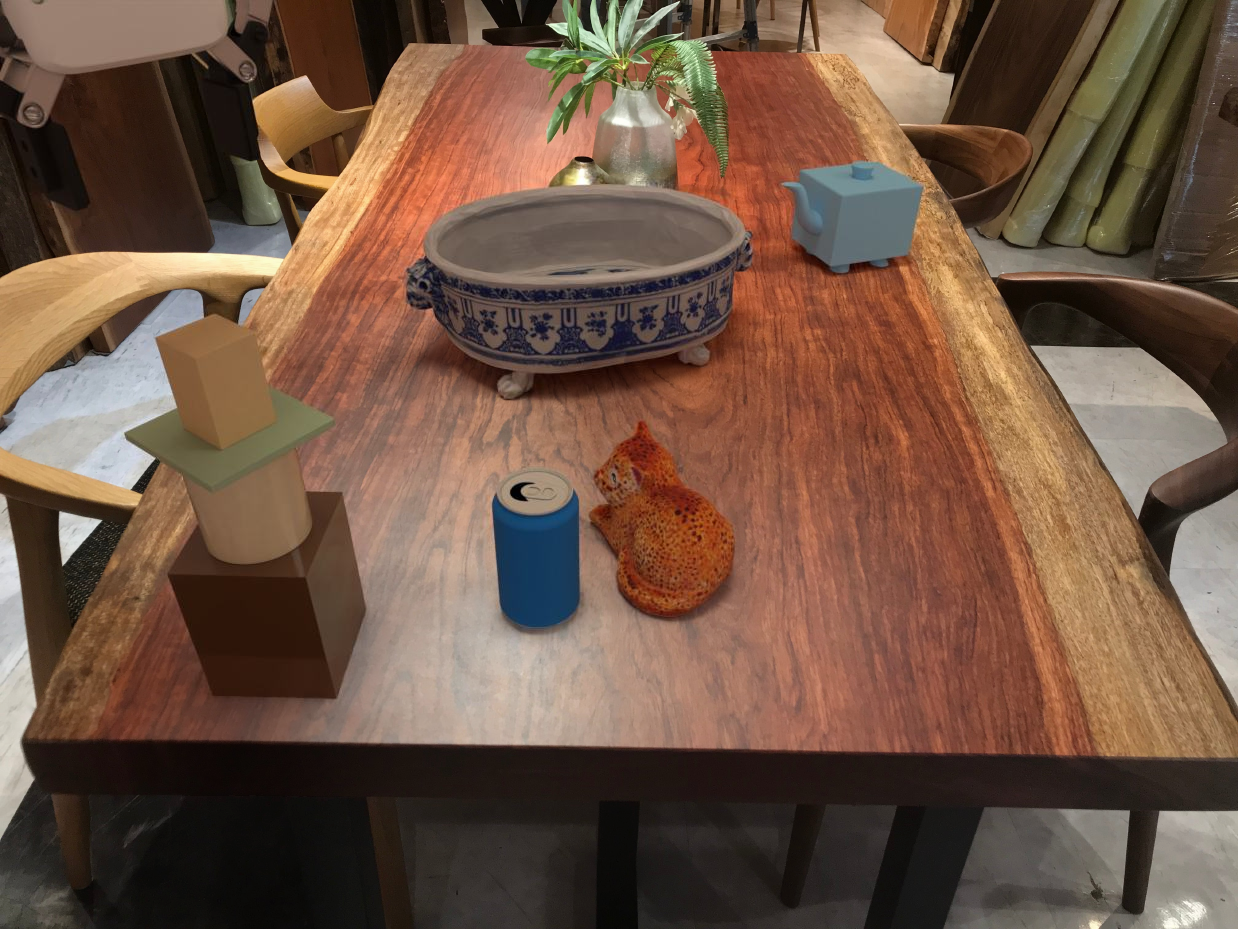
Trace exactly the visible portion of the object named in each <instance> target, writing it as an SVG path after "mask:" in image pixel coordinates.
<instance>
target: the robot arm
mask: <svg viewBox="0 0 1238 929" xmlns="http://www.w3.org/2000/svg"><path fill="white" fill-rule="evenodd" d="M273 1H274V0H235V2H236V5H235V6H236V7H235V13H236V15H235V16H236V17H235V18H234V19H233V20H231V22H230V25H229V21H228V20H229V18H228V10H227V3H226V0H0V57H1V58H3V59H4V62H3V64H2V66H1V69H0V117H2V118H4V119H6V120H7V122H8V125H9V127H10V129H11V133H12V135H13V138H14V141H15V143H16V146H17V150H18V152H19V154H20V157H21V160H22V162H23V165H24V169H25V171H26V173H27V176H28V178H29V181H30V183H31V184H32V186H33V187H34V189H35V190H36V191H37V192H39V193H41V194H43V195H44V196H45V197H46V198H47V200H49V201H51V202H54V203H56V204H57V205H60V206H63V207H65V208H67V209H70V210H72V211H74V212H79V211H82V210H86V209H88V208H89V205H91V199H90V196H89V194H88V190H87V187H86V185H85V181H84V178H83V176H82V173H81V168H80V166H79V163H78V160H77V158H76V154H75V152H74V149H73V145H72V143H71V140H70V136H69V133H68V131H67V129H66V127H65V126H64V125H63V124H61V123H58V122H55V121H53V120H52V117H51V112H52V110H53V107H54V104H55V103H56V100H57V97H58V95H59V93H60V90H61V88H62V86H63V83H64V80H65V78H66V75H78V74H84V73H91V72H98V71H104V70H108V69H114V68H120V67H127V66H132V65H138V64H142V63H144V64H145V63H148V62H153V61H160V60H165V59H171V58H176V57H181V56H182V57H183V56H186V55H192V56H193V58H194V59H196V60H197V62H199V63H200V64H201V65H202V66H203V67H204V68H206V69H207V71H208V75H204V76H201V83H200V84H201V90H202V93H203V94H202V95H203V98H204V101H205V106H206V110H207V114H208V118H209V122H210V128H211V131H212V135H213V139H214V140H213V141H214V143H215V147H216V149H217V150H218V152H220V153H223V154H226V155H229V156H231V157H234V158H238V159H240V160H244V161H247V162H250V163H251V162H255V161H258V160H261V159H262V158H261V157H262V155H261V148H260V144H259V140H258V138H259V133H260V132H259V124H258V121H257V115H256V112H255V106H254V102H253V97H252V92H251V87H250V83H252V82H253V81H254V80H255V79H256V77H257V75H258V69H257V68H258V67H257V66H256V64H257V62H258V60H259V58H260V56H261V54H262V52H263V50H264V48H265V46H266V45H267V42H268V39H269V31H268V28H267V25H268V24H269V22H270V17H271V11H272V7H273Z"/></svg>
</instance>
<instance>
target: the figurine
mask: <svg viewBox="0 0 1238 929" xmlns="http://www.w3.org/2000/svg"><path fill="white" fill-rule="evenodd" d="M592 478H593V482H594V484H595V487H596V488H597V490H598V491H599V493H600V494H601V495H602V497H603V498H604V499H605V501H606V502H607V503H602V504H598V505H597V506H595V507H594V508H593V509H592V510H590V511H589V513H588V518H589V520H590V521H591V522H592V523H593V524H594V525H595V526H597V527H598V529H600V531H601V532H602V534H603V535H604V537H605V539H606V540H607V542H608V543H609V545H610V546H611V548H612V550H613V551H614V553H615V554H616V555H618V558H617V567H616V568H617V570H616V575H615V576H616V581H617V585H618V587H619V589H620V591H621V592H622V594H623V595H624V596H625V598H626V599H627V600H628V601H629V603H630V604H631V605H633V606H635V607H636V608H638V609H639V610H641V612H643V613H646V614H649V615H655V616H659V617H664V618H673V617H674V618H675V617H680V616H683V615H685V614H688V613H689V612H691V611H693V610H695V609H696V608H697V607H699V606H701V604H703V603H705V602H706V600H708V599H709V598H710V597H711V596H712V595H713V594H715V592H716V591H717V590H718V588H719V587H720V586H721V585H722V583H723V582H724V581H725V580H727V578H729V577H730V574H731V572H732V568H733V563H734V559H735V554H736V540H735V531H734V528H733V525H732V524H731V522H729V521H728V520H727V518H725V517H724V516H723V515H722V514H721V513H720V512H718V510H717V509H716V507H715V506H714V504H713V503H712V502H710V501H709V500H708V499H706V497H704V496H703V495H701V494H700V493H698V492H697V491H696V490H694V489H691V488H688V487H686V486H685V485H684V483H683V482H682V481H681V479H680V477H679V474H678V471H677V467H676V464H675V460H674V458H673V456H672V454H671V453H669V451H668V450H667V449H666V447H664V446H662V445H661V444H660V443H659V442H657V441H656V440H655V439H654V437H653V435H652V433H651V431H650V429H649V426H648V424H647V423H646V421H644V420H638V421H636V425H635V428H634V430H633V435H632V436H630V437H629V438H627V439H625V440H623V441H620V442H618V443H617V444H616V446H615V448H614V449H613V451H612V452H611V454H610V455H609V457H608V459H607V460H606V461H605V462H604V463H603V465H602V466H601V467H600V468H598V469H597V470H596V471H594V473H593V477H592Z"/></svg>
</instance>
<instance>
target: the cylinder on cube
mask: <svg viewBox="0 0 1238 929" xmlns="http://www.w3.org/2000/svg"><path fill="white" fill-rule="evenodd" d="M181 476H182V480H183V483H184V485H185V488H186V491H187V494H188V497H189V500H190V503H191V506H192V509H193V512H194V516H195V519H196V521H197V524H196V526H195V527H194V529H193V530H192V532H191V534H190V536H189V537H188V539H187V541H186V542H185V543H184V545H183V546H182V548H181V550H180V551H179V553H178V555H177V556H176V558H175V560H174V561H173V563H172V565H171V566H170V568H169V569H168V571H167V573H166V575H167V578H168V581H169V584H170V586H171V589H172V592H173V594H174V597H175V599H176V601H177V605H178V608H179V610H180V612H181V615H182V618H183V621H184V623H185V626H186V628H187V631H188V634H189V637H190V640H191V642H192V644H193V646H194V650H195V652H196V655H197V658H198V660H199V663H200V667H201V669H202V671H203V674H204V676H205V679H206V681H207V684H208V687H209V690H210V693H211V694H212V696H235V697H236V696H237V697H271V698H273V697H274V698H275V697H277V698H310V699H312V698H313V699H337V697H338V694H339V691H340V688H341V686H342V682H343V679H344V678H345V674H346V671H347V669H348V668H347V667H348V666H349V662H350V659H351V656H352V653H353V649H354V646H355V644H356V641H357V638H358V635H359V632H360V629H361V626H362V624H363V620H364V617H365V614H366V611H367V606H366V600H365V597H364V596H365V595H364V590H363V585H362V581H361V577H360V572H359V567H358V562H357V557H356V552H355V547H354V542H353V538H352V532H351V526H350V522H349V517H348V513H347V509H346V504H345V498H344V494H343V491H321V490H320V491H317V490H316V491H315V490H306V486H305V480H304V476H303V473H302V468H301V464H300V460H299V456H298V452H297V447H296V448H295V449H293V450H291V451H289V452H287V453H286V454H284V455H282V456H280V457H278V458H277V459H275V460H273V461H271V462H269V463H267V464H266V465H264V466H262V467H260V468H258V469H257V470H255V471H253V472H251V473H249V474H248V475H246V476H244V477H242V478H240V479H238V480H237V481H235V482H233V483H231V484H229V485H228V486H226V487H224V488H222V489H220V490H219V491H217V492H215V493H213V494H212V493H211V492H209V491H207V490H206V489H204V488H202V487H201V486H199V485H198V484H196V483H194V482H193V481H191V480H190V479H188V478H186V477H185V476H183V475H182V474H181Z"/></svg>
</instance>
